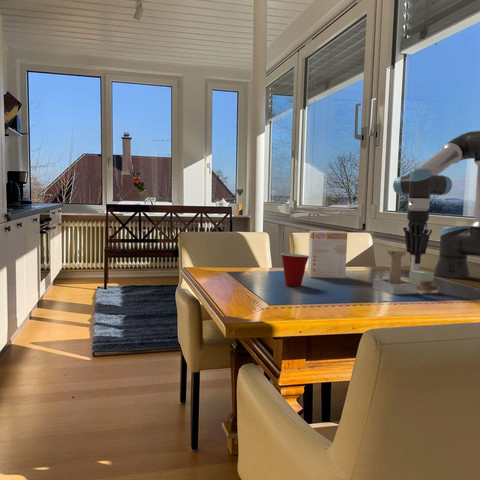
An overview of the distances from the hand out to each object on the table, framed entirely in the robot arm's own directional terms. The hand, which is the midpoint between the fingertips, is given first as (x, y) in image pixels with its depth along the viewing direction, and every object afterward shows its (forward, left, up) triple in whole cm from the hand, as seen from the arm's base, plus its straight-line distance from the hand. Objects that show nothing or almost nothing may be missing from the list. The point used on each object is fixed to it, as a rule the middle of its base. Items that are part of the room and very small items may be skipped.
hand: (414, 271), depth 171 cm
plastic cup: (+44, -13, -7) cm, 47 cm away
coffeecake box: (+21, -29, -7) cm, 37 cm away
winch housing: (+11, +3, -6) cm, 13 cm away
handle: (+11, +3, -7) cm, 13 cm away
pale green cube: (0, +4, -5) cm, 7 cm away
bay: (0, -2, -6) cm, 7 cm away
